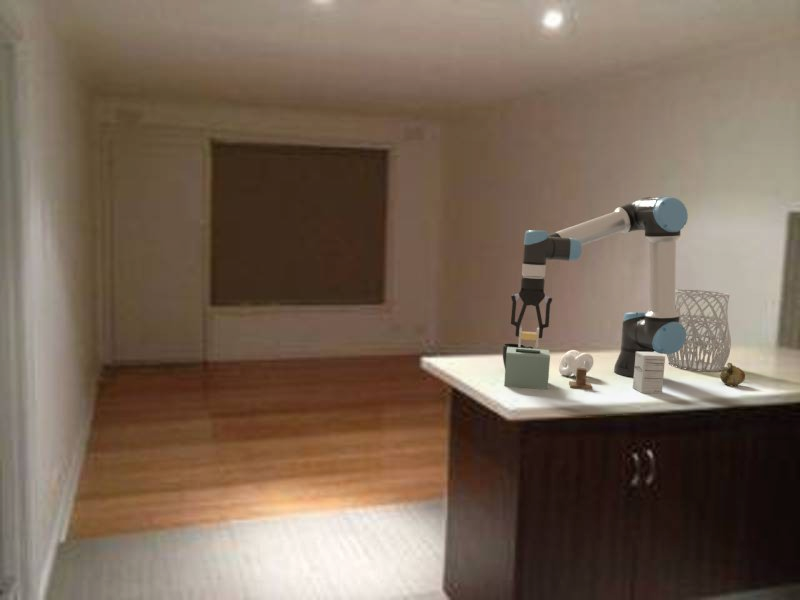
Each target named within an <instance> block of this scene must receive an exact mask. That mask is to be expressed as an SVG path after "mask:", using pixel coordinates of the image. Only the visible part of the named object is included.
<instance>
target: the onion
mask: <svg viewBox="0 0 800 600" xmlns="http://www.w3.org/2000/svg"><path fill="white" fill-rule="evenodd" d="M726 365H727V366H724V367H723V366H722V367H721V369H722V370H721V372H720V375H719V378H720V380H721V381H722V382H721V383H723V384H725V385H726V384H728V385H727V386H730V385H736V386H738V385H740V384H742V383H743V382H744V381H745V378H746V374H745V371H744V370H743V369H741V368H739V367H738V366H736V365H735V364H734V365H733V363H731V362H727V363H726Z"/></svg>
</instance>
